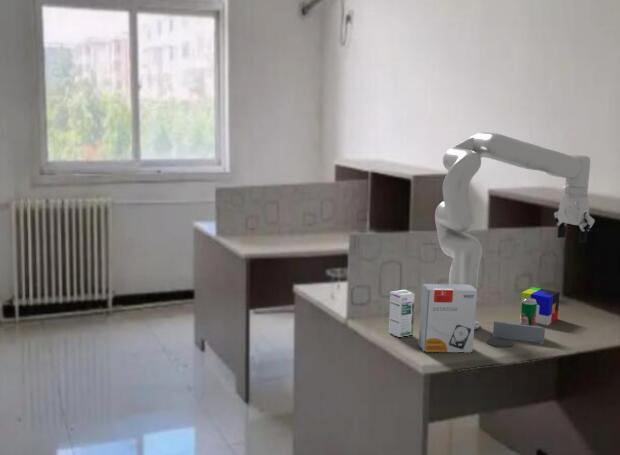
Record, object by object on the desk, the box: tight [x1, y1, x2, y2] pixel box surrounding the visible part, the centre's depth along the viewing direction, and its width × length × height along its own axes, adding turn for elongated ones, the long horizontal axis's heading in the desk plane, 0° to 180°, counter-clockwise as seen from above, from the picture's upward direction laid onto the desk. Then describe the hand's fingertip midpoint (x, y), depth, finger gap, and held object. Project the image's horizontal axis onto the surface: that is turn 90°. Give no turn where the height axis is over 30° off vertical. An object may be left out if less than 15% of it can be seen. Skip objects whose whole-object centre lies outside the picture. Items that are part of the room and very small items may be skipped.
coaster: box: [486, 337, 514, 348], centre depth 241 cm, size 8×8×1 cm
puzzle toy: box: [519, 286, 561, 326], centre depth 268 cm, size 10×10×10 cm
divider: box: [491, 320, 546, 345], centre depth 245 cm, size 16×4×5 cm, turn 68°
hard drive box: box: [418, 283, 478, 353], centre depth 233 cm, size 16×8×20 cm, turn 96°
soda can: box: [519, 298, 537, 326], centre depth 250 cm, size 5×5×12 cm
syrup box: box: [388, 289, 415, 337], centre depth 246 cm, size 6×6×14 cm
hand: (571, 239), depth 265 cm, fingers open, 9 cm apart
